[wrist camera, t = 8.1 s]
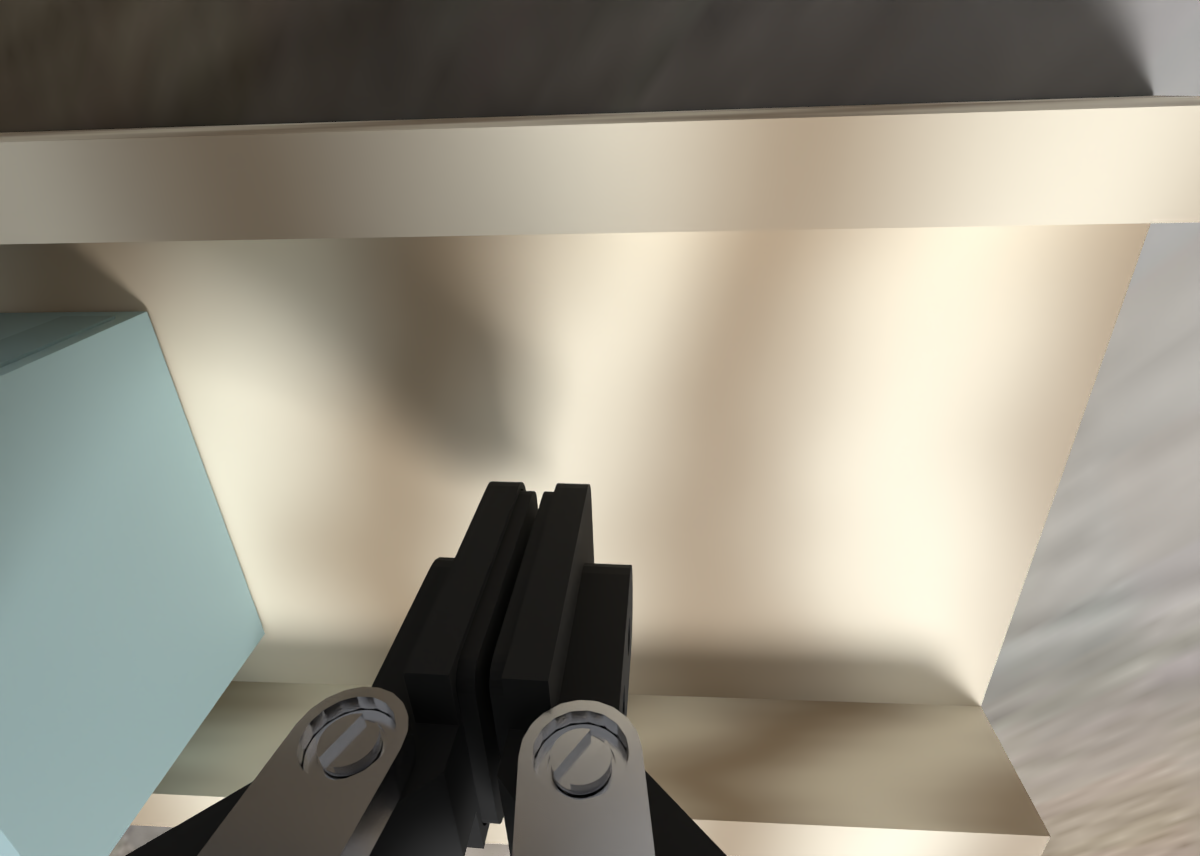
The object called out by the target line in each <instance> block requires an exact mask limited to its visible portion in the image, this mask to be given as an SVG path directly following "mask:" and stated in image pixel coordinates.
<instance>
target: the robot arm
mask: <svg viewBox="0 0 1200 856" xmlns="http://www.w3.org/2000/svg"><path fill="white" fill-rule="evenodd" d="M632 620H633V573H632V565H622V564H597V563H594V544H593V521H592V498H591V487H590V484H570V483H557V484H556V487H555V490H554V492H549V491H545V492H544V493H543V495H542V498H541V502H540V505H539V508H538V503H537V495H536V492H535V491H526V488H525V485H524V483H523V482H500V481H491V482H489V484H488V485H487V487H486V490H485V492H484V494H483V496H482V499H481V501H480V503H479V505H478V507H477V510H476V512H475V514H474V516H473V518H472V521H471V523H470V525H469V527H468V530H467V532H466V534H465V536H464V538H463V541H462V543H461V545H460V547H459V550H458V552H457V554H456V556H455V558H450V557H439V558H437V559H435V560H434V562H433V564H432V565H431V567H430V569H429V571H428V573H427V575H426V577H425V579H424V581H423V583H422V585H421V587H420V589H419V591H418V593H417V595H416V597H415V599H414V601H413V603H412V605H411V607H410V609H409V611H408V613H407V615H406V617H405V619H404V622H403V624H402V626H401V628H400V630H399V632H398V634H397V636H396V638H395V640H394V642H393V644H392V646H391V648H390V650H389V652H388V654H387V656H386V658H385V660H384V662H383V664H382V666H381V668H380V670H379V672H378V674H377V676H376V678H375V680H374V682H373V685H372V687H358V688H353V689H348V690H344V691H342V692H339V693H337V694H335V695H332V696H330V697H328V698H326V699H324V700H323V701H321V702H320V703H319V704H317V705H316V706H314V707H313V708H311V709H310V710H309V711H308V712H307V713H306V714H305V715H304V716H303V717H302V718H301V719H300V720H299V721H298V723H297V724H296V725H295V726H294V727H293V729H292V730H291V731H290V733H289V734H288V735H287V737H286V738H285V739H284V741H283V742H282V743H281V745H280V746H279V747H278V749H277V750H276V751H275V753H274V754H273V755H272V757H271V758H270V759H269V761H268V762H267V763H266V765H265V766H264V767H263V769H262V770H261V771H260V773H259V774H258V775H257V777H256V778H255V779H254V781H253V782H251V783H249V784H247V785H246V786H244V787H242V788H241V789H239V790H237V791H235V792H234V793H232V794H230V795H229V796H227V797H225V798H223V799H222V800H220V801H218V802H217V803H215V804H213V805H211V806H210V807H208V808H206V809H205V810H203V811H201V812H199V813H198V814H196V815H194V816H193V817H191V818H189V819H187V820H186V821H184V822H182V823H181V824H179V825H177V826H175V827H174V828H172V829H170V830H169V831H167V832H165V833H163V834H162V835H160V836H158V837H157V838H155V839H153V840H151V841H150V842H148V843H146V844H145V845H143V846H141V847H139V848H138V849H136V850H134V851H133V852H131V853H129V854H127V855H126V856H465V852H466V848H467V847H472V848H484V845H485V841H486V837H487V833H488V829H489V825H490V823H493V824H501V822H502V820H503V818H504V821H505V827H506V833H507V839H508V845H509V850H510V856H727V855H726V854H725V853H724V852H723V851H722V850H721V849H720V848H719V847H718V846H717V845H716V844H715V843H714V842H713V841H712V840H711V839H710V837H709V836H708V835H707V834H706V833H705V832H704V831H703V830H702V829H701V828H700V827H699V826H698V825H697V824H696V823H695V822H694V821H693V820H692V819H691V818H690V817H689V816H688V814H687V813H686V812H685V811H684V810H683V809H682V808H681V807H680V806H679V805H678V804H677V803H676V802H675V801H674V800H673V799H672V798H671V797H670V796H669V795H668V794H667V793H666V791H665V790H664V789H663V788H662V787H661V786H660V785H659V784H658V783H657V782H656V781H655V780H654V779H653V778H652V777H651V776H650V775H649V774H648V773H647V772H646V771H645V768H644V759H643V751H642V746H641V742H640V739H639V736H638V732H637V730H636V729H635V728H634V726H633V725H632V723H631V722H630V721H629V719H628V718H627V704H628V690H629V676H630V661H631V646H632Z"/></svg>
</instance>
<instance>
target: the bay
mask: <svg viewBox="0 0 1200 856" xmlns="http://www.w3.org/2000/svg"><path fill="white" fill-rule="evenodd" d="M1192 222H1200V96H1132V97H1101V98H1069V99H1038V100H1007V101H976V102H944V103H913V104H882V105H851V106H819V107H788V108H757V109H725V110H694V111H663V112H632V113H600V114H569V115H538V116H506V117H475V118H444V119H413V120H381V121H350V122H319V123H287V124H256V125H225V126H194V127H162V128H131V129H100V130H68V131H37V132H6V133H0V313H36V312H135V311H147V313H148V316H149V318H150V321H151V324H152V326H153V329H154V332H155V335H156V337H157V340H158V343H159V346H160V348H161V351H162V354H163V356H164V359H165V362H166V365H167V367H168V370H169V373H170V376H171V378H172V381H173V384H174V387H175V389H176V392H177V395H178V397H179V400H180V403H181V406H182V408H183V411H184V414H185V417H186V419H187V422H188V425H189V428H190V430H191V433H192V436H193V438H194V441H195V444H196V447H197V449H198V452H199V455H200V458H201V460H202V463H203V466H204V469H205V471H206V474H207V477H208V479H209V482H210V485H211V488H212V490H213V493H214V496H215V499H216V501H217V504H218V507H219V509H220V512H221V515H222V518H223V520H224V523H225V526H226V529H227V531H228V534H229V537H230V540H231V542H232V545H233V548H234V550H235V553H236V556H237V559H238V561H239V564H240V567H241V570H242V572H243V575H244V578H245V581H246V583H247V586H248V589H249V591H250V594H251V597H252V600H253V602H254V605H255V608H256V611H257V613H258V616H259V619H260V622H261V624H262V627H263V630H264V632H265V634H264V636H263V637H262V638H261V640H260V641H259V643H258V644H257V646H256V647H255V648H254V650H253V651H252V653H251V654H250V655H249V657H248V658H247V660H246V661H245V663H244V664H243V665H242V667H241V668H240V670H239V671H238V673H237V674H236V675H235V677H234V678H233V680H232V681H231V682H230V684H229V685H228V687H227V688H226V690H225V691H224V692H223V694H222V695H221V697H220V698H219V699H218V701H217V702H216V704H215V705H214V707H213V708H212V709H211V711H210V712H209V714H208V715H207V716H206V718H205V719H204V721H203V722H202V724H201V725H200V726H199V728H198V729H197V731H196V732H195V734H194V735H193V736H192V738H191V739H190V741H189V742H188V743H187V745H186V746H185V748H184V749H183V751H182V752H181V753H180V755H179V756H178V758H177V759H176V760H175V762H174V763H173V765H172V766H171V768H170V769H169V770H168V772H167V773H166V775H165V776H164V777H163V779H162V780H161V782H160V783H159V785H158V786H157V787H156V789H155V790H154V792H153V793H152V795H151V796H150V797H149V799H148V800H147V802H146V803H145V804H144V806H143V807H142V809H141V810H140V812H139V813H138V814H137V816H136V817H135V819H134V820H133V821H132V823H131V824H130V825H141V826H160V827H175V826H177V825H179V824H181V823H182V822H184V821H186V820H187V819H189V818H191V817H193V816H194V815H196V814H198V813H199V812H201V811H203V810H205V809H206V808H208V807H210V806H211V805H213V804H215V803H217V802H218V801H220V800H222V799H223V798H225V797H227V796H229V795H230V794H232V793H234V792H235V791H237V790H239V789H241V788H242V787H244V786H246V785H247V784H249V783H251V782H253V781H254V779H255V778H256V777H257V775H258V774H259V773H260V771H261V770H262V769H263V767H264V766H265V765H266V763H267V762H268V761H269V759H270V758H271V757H272V755H273V754H274V753H275V751H276V750H277V749H278V747H279V746H280V745H281V743H282V742H283V741H284V739H285V738H286V737H287V735H288V734H289V733H290V731H291V730H292V729H293V727H294V726H295V725H296V724H297V723H298V721H299V720H300V719H301V718H302V717H303V716H304V715H305V714H306V713H307V712H308V711H309V710H310V709H311V708H313V707H314V706H316V705H317V704H319V703H320V702H321V701H323V700H324V699H326V698H328V697H330V696H332V695H335V694H337V693H339V692H342V691H344V690H348V689H353V688H358V687H372V685H373V682H374V680H375V678H376V676H377V674H378V672H379V670H380V668H381V666H382V664H383V662H384V660H385V658H386V656H387V654H388V652H389V650H390V648H391V646H392V644H393V642H394V640H395V638H396V636H397V634H398V632H399V630H400V628H401V626H402V624H403V622H404V619H405V617H406V615H407V613H408V611H409V609H410V607H411V605H412V603H413V601H414V599H415V597H416V595H417V593H418V591H419V589H420V587H421V585H422V583H423V581H424V579H425V577H426V575H427V573H428V571H429V569H430V567H431V565H432V564H433V562H434V560H435V559H437V558H439V557H450V558H455V556H456V554H457V552H458V550H459V547H460V545H461V543H462V541H463V538H464V536H465V534H466V532H467V530H468V527H469V525H470V523H471V521H472V518H473V516H474V514H475V512H476V510H477V507H478V505H479V503H480V501H481V499H482V496H483V494H484V492H485V490H486V487H487V485H488V484H489V482H491V481H500V482H523V483H524V485H525V488H526V491H535V492H536V495H537V503H538V508H539V505H540V502H541V498H542V495H543V493H544V492H545V491H549V492H554V490H555V487H556V484H557V483H570V484H590V487H591V498H592V521H593V544H594V563H597V564H622V565H632V573H633V620H632V646H631V661H630V676H629V690H628V704H627V718H628V719H629V721H630V722H631V723H632V725H633V726H634V728H635V729H636V730H637V732H638V736H639V739H640V742H641V746H642V751H643V759H644V768H645V771H646V772H647V773H648V774H649V775H650V776H651V777H652V778H653V779H654V780H655V781H656V782H657V783H658V784H659V785H660V786H661V787H662V788H663V789H664V790H665V791H666V793H667V794H668V795H669V796H670V797H671V798H672V799H673V800H674V801H675V802H676V803H677V804H678V805H679V806H680V807H681V808H682V809H683V810H684V811H685V812H686V813H687V814H688V816H689V817H690V818H691V819H692V820H693V821H694V822H695V823H696V824H697V825H698V826H699V827H700V828H701V829H702V830H703V831H704V832H705V833H706V834H707V835H708V836H709V837H710V839H711V840H712V841H713V842H714V843H715V844H716V845H717V846H718V847H719V848H720V849H721V850H722V851H723V852H724V853H725V854H726V855H727V856H1041V855H1042V853H1043V851H1044V849H1045V847H1046V845H1047V843H1048V841H1049V839H1050V837H1051V836H1050V834H1049V833H1048V831H1047V829H1046V827H1045V825H1044V823H1043V821H1042V820H1041V818H1040V816H1039V814H1038V812H1037V810H1036V808H1035V807H1034V805H1033V803H1032V801H1031V799H1030V797H1029V795H1028V794H1027V792H1026V790H1025V788H1024V786H1023V784H1022V782H1021V781H1020V779H1019V777H1018V775H1017V773H1016V771H1015V769H1014V768H1013V766H1012V764H1011V762H1010V760H1009V758H1008V756H1007V755H1006V753H1005V751H1004V749H1003V747H1002V745H1001V743H1000V742H999V740H998V738H997V736H996V734H995V732H994V730H993V728H992V727H991V725H990V723H989V721H988V719H987V717H986V715H985V714H984V712H983V710H982V708H981V704H982V701H983V698H984V695H985V692H986V690H987V687H988V684H989V681H990V678H991V675H992V673H993V670H994V667H995V664H996V661H997V658H998V656H999V653H1000V650H1001V647H1002V644H1003V641H1004V639H1005V636H1006V633H1007V630H1008V627H1009V624H1010V621H1011V619H1012V616H1013V613H1014V610H1015V607H1016V604H1017V602H1018V599H1019V596H1020V593H1021V590H1022V587H1023V585H1024V582H1025V579H1026V576H1027V573H1028V570H1029V568H1030V565H1031V562H1032V559H1033V556H1034V553H1035V550H1036V548H1037V545H1038V542H1039V539H1040V536H1041V533H1042V531H1043V528H1044V525H1045V522H1046V519H1047V516H1048V514H1049V511H1050V508H1051V505H1052V502H1053V499H1054V497H1055V494H1056V491H1057V488H1058V485H1059V482H1060V479H1061V477H1062V474H1063V471H1064V468H1065V465H1066V462H1067V460H1068V457H1069V454H1070V451H1071V448H1072V445H1073V443H1074V440H1075V437H1076V434H1077V431H1078V428H1079V426H1080V423H1081V420H1082V417H1083V414H1084V411H1085V409H1086V406H1087V403H1088V400H1089V397H1090V394H1091V391H1092V389H1093V386H1094V383H1095V380H1096V377H1097V374H1098V372H1099V369H1100V366H1101V363H1102V360H1103V357H1104V355H1105V352H1106V349H1107V346H1108V343H1109V340H1110V338H1111V335H1112V332H1113V329H1114V326H1115V323H1116V320H1117V318H1118V315H1119V312H1120V309H1121V306H1122V303H1123V301H1124V298H1125V295H1126V292H1127V289H1128V286H1129V284H1130V281H1131V278H1132V275H1133V272H1134V269H1135V267H1136V264H1137V261H1138V258H1139V255H1140V252H1141V249H1142V247H1143V244H1144V241H1145V238H1146V235H1147V232H1148V230H1149V227H1150V224H1151V223H1192ZM485 843H490V844H508V839H507V833H506V827H505V821H504V818H503V820H502V822H501V824H493V823H490V825H489V829H488V833H487V837H486V841H485Z"/></svg>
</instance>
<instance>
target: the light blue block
mask: <svg viewBox="0 0 1200 856" xmlns="http://www.w3.org/2000/svg"><path fill="white" fill-rule="evenodd" d="M264 634H265V632H264V630H263V627H262V624H261V622H260V619H259V616H258V613H257V611H256V608H255V605H254V602H253V600H252V597H251V594H250V591H249V589H248V586H247V583H246V581H245V578H244V575H243V572H242V570H241V567H240V564H239V561H238V559H237V556H236V553H235V550H234V548H233V545H232V542H231V540H230V537H229V534H228V531H227V529H226V526H225V523H224V520H223V518H222V515H221V512H220V509H219V507H218V504H217V501H216V499H215V496H214V493H213V490H212V488H211V485H210V482H209V479H208V477H207V474H206V471H205V469H204V466H203V463H202V460H201V458H200V455H199V452H198V449H197V447H196V444H195V441H194V438H193V436H192V433H191V430H190V428H189V425H188V422H187V419H186V417H185V414H184V411H183V408H182V406H181V403H180V400H179V397H178V395H177V392H176V389H175V387H174V384H173V381H172V378H171V376H170V373H169V370H168V367H167V365H166V362H165V359H164V356H163V354H162V351H161V348H160V346H159V343H158V340H157V337H156V335H155V332H154V329H153V326H152V324H151V321H150V318H149V316H148V313H147V311H135V312H36V313H0V856H109V854H110V853H111V851H112V850H113V848H114V847H115V846H116V844H117V843H118V841H119V840H120V838H121V837H122V836H123V834H124V833H125V831H126V830H127V829H128V827H129V826H130V824H131V823H132V821H133V820H134V819H135V817H136V816H137V814H138V813H139V812H140V810H141V809H142V807H143V806H144V804H145V803H146V802H147V800H148V799H149V797H150V796H151V795H152V793H153V792H154V790H155V789H156V787H157V786H158V785H159V783H160V782H161V780H162V779H163V777H164V776H165V775H166V773H167V772H168V770H169V769H170V768H171V766H172V765H173V763H174V762H175V760H176V759H177V758H178V756H179V755H180V753H181V752H182V751H183V749H184V748H185V746H186V745H187V743H188V742H189V741H190V739H191V738H192V736H193V735H194V734H195V732H196V731H197V729H198V728H199V726H200V725H201V724H202V722H203V721H204V719H205V718H206V716H207V715H208V714H209V712H210V711H211V709H212V708H213V707H214V705H215V704H216V702H217V701H218V699H219V698H220V697H221V695H222V694H223V692H224V691H225V690H226V688H227V687H228V685H229V684H230V682H231V681H232V680H233V678H234V677H235V675H236V674H237V673H238V671H239V670H240V668H241V667H242V665H243V664H244V663H245V661H246V660H247V658H248V657H249V655H250V654H251V653H252V651H253V650H254V648H255V647H256V646H257V644H258V643H259V641H260V640H261V638H262V637H263V636H264Z"/></svg>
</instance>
